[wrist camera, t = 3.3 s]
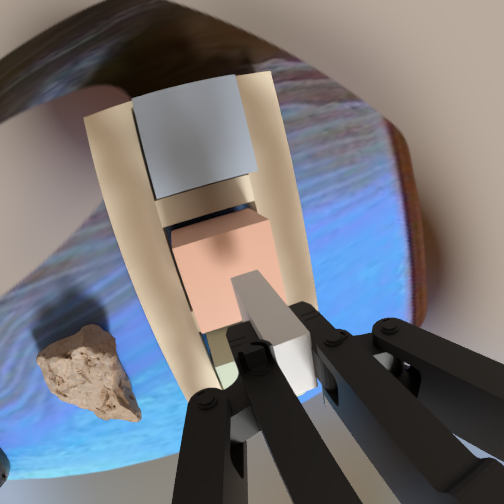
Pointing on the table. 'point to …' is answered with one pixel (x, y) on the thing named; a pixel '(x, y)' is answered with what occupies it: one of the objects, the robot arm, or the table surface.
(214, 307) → the terracotta block
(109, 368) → the stone
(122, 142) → the socket board
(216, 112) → the slate block
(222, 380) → the sage block
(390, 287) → the table surface
